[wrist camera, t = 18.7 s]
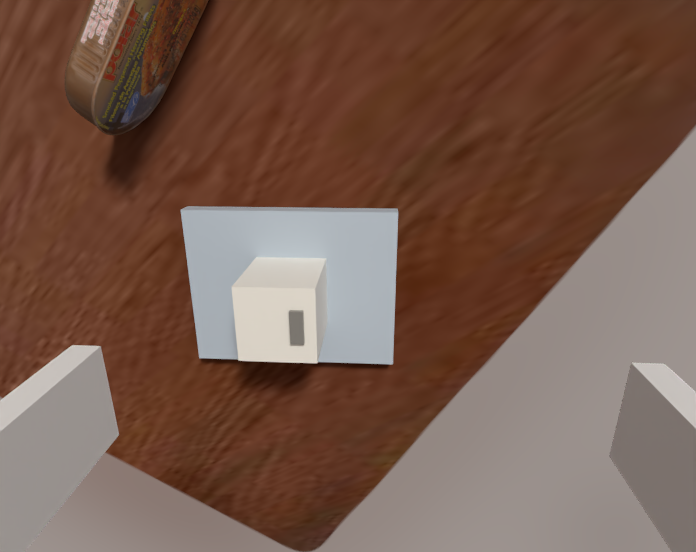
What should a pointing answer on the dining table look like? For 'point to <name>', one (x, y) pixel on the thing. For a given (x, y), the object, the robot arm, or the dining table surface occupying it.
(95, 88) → the tin
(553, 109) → the dining table surface
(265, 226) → the panel
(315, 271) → the cream box with handle
